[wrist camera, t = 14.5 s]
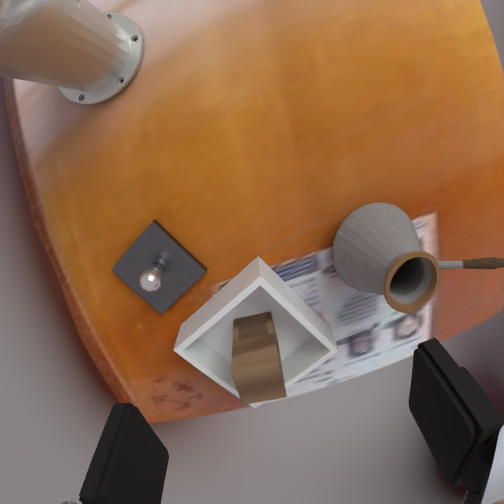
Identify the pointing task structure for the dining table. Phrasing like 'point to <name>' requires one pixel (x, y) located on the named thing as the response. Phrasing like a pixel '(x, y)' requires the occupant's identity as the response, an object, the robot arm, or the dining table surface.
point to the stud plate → (168, 258)
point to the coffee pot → (391, 257)
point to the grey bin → (251, 303)
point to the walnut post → (256, 359)
